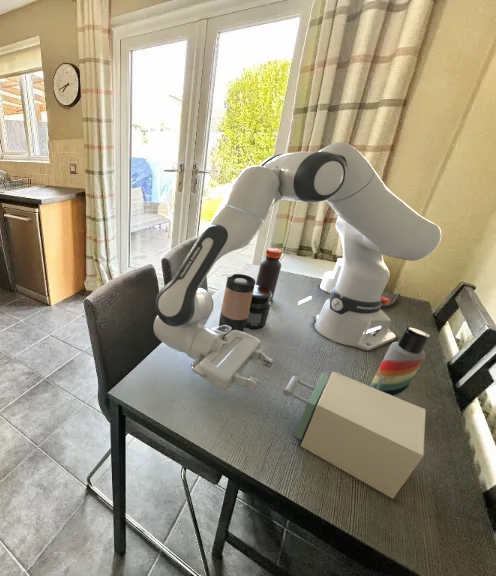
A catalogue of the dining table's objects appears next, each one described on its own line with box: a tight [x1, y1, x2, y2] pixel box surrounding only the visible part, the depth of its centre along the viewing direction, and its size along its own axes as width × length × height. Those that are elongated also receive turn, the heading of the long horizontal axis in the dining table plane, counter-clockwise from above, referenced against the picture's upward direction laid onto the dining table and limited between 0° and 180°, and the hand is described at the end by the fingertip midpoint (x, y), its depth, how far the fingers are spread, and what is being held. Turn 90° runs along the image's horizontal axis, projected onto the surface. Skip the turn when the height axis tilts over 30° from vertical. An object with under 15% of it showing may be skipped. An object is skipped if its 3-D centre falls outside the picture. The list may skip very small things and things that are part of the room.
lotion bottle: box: [369, 326, 430, 400], centre depth 68 cm, size 6×6×20 cm
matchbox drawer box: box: [300, 371, 427, 500], centre depth 59 cm, size 15×13×12 cm
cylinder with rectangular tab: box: [319, 257, 343, 294], centre depth 122 cm, size 9×9×12 cm
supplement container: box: [245, 284, 272, 331], centre depth 100 cm, size 10×10×12 cm
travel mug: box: [218, 273, 256, 333], centre depth 91 cm, size 8×8×20 cm
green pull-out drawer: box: [282, 372, 330, 441], centre depth 62 cm, size 18×11×10 cm, turn 46°
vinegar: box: [255, 247, 283, 303], centre depth 113 cm, size 7×7×20 cm
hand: (265, 374), depth 69 cm, fingers open, 8 cm apart
